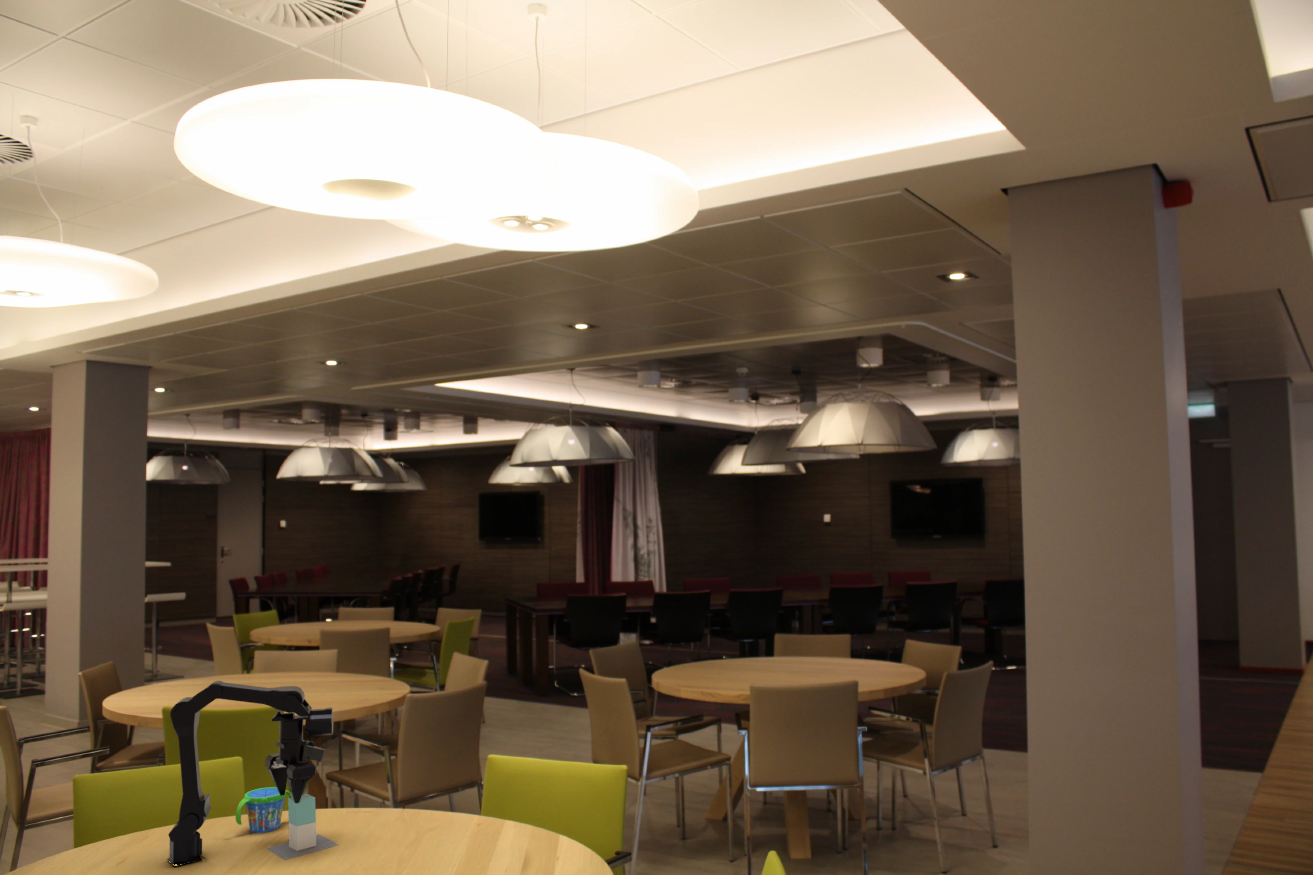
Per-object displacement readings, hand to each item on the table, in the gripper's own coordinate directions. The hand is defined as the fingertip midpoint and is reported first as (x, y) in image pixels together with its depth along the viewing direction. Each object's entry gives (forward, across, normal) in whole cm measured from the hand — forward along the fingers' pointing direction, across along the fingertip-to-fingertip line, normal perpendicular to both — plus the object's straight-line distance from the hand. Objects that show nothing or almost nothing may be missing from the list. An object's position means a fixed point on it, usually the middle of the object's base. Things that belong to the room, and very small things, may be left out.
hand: (289, 798), depth 242 cm
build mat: (+12, -2, -3) cm, 13 cm away
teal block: (+6, -2, -2) cm, 7 cm away
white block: (+12, -2, -3) cm, 12 cm away
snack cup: (+13, +20, -2) cm, 24 cm away
